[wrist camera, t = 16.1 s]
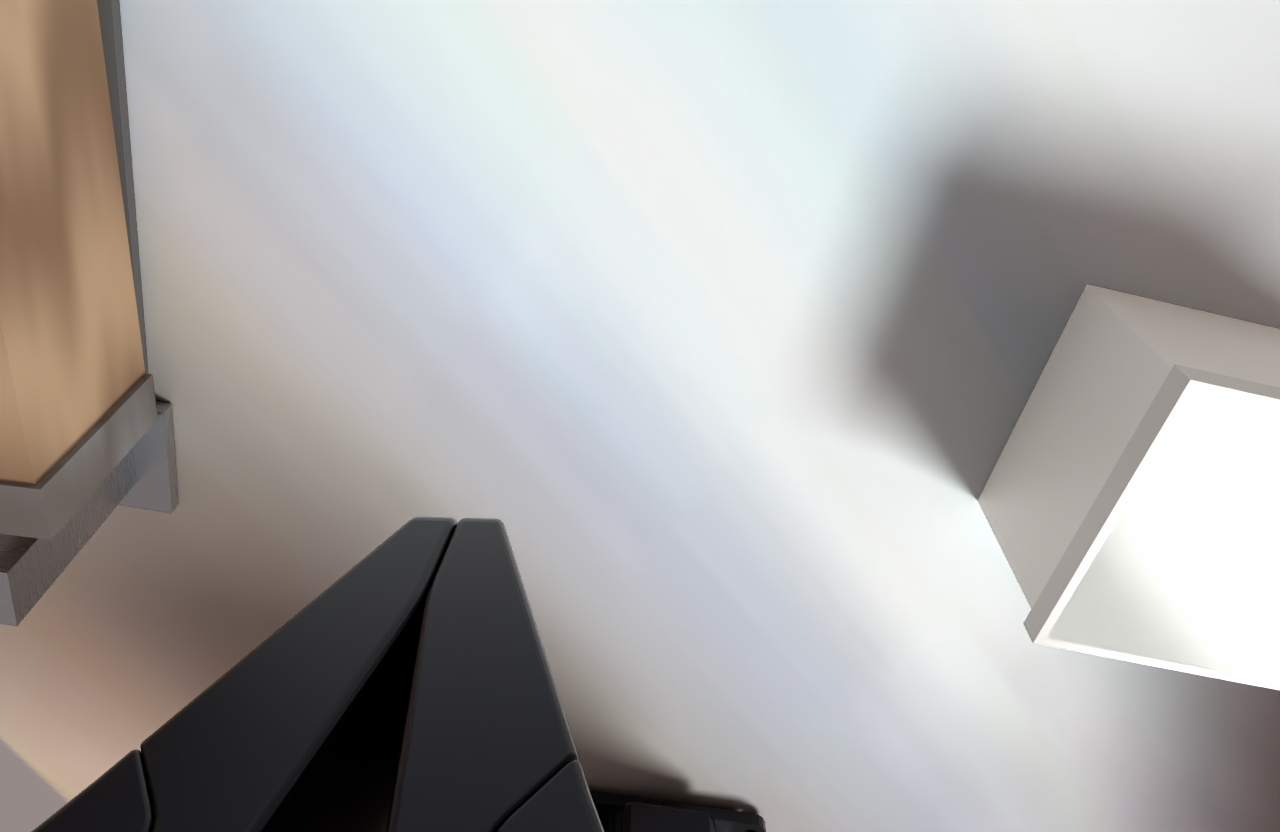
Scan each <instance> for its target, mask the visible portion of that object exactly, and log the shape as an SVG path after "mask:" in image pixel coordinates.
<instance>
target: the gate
mask: <svg viewBox="0 0 1280 832" xmlns="http://www.w3.org/2000/svg"><path fill="white" fill-rule="evenodd" d="M157 419H158V417H157V409H156V401H155V393H154V385H153V377H152V375H151V374H145V366H144V358H143V351H142V343H141V335H140V328H139V320H138V312H137V305H136V297H135V289H134V282H133V274H132V266H131V259H130V251H129V243H128V236H127V228H126V220H125V213H124V205H123V197H122V190H121V182H120V174H119V167H118V159H117V151H116V144H115V136H114V128H113V121H112V113H111V105H110V98H109V90H108V82H107V75H106V67H105V59H104V52H103V44H102V36H101V29H100V21H99V13H98V6H97V0H0V534H7V535H15V536H23V537H31V538H39V539H47V540H51V539H52V538H53V537H54V536H55V535H56V534H57V533H58V531H59V530H60V529H61V528H62V527H63V526H64V525H65V523H66V522H67V521H68V520H69V519H70V518H71V517H72V516H73V514H74V513H75V512H76V511H77V510H78V509H79V508H80V507H81V505H82V504H83V503H84V502H85V501H86V500H87V499H88V497H89V496H90V495H91V494H92V493H93V492H94V491H95V490H96V488H97V487H98V486H99V485H100V484H101V483H102V482H103V481H104V479H105V478H106V477H107V476H108V475H109V474H110V473H111V471H112V470H113V469H114V468H115V467H116V466H117V465H118V464H119V462H120V461H121V460H122V459H123V458H124V457H125V456H126V454H127V453H128V452H129V451H130V450H131V449H132V448H133V447H134V445H135V444H136V443H137V442H138V441H139V440H140V439H141V438H142V436H143V435H144V434H145V433H146V432H147V431H148V430H149V428H150V427H151V426H152V425H153V424H154V423H155V422H156V421H157Z"/></svg>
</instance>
